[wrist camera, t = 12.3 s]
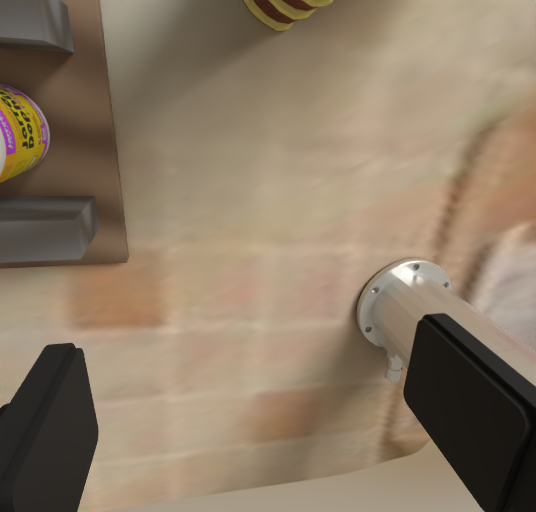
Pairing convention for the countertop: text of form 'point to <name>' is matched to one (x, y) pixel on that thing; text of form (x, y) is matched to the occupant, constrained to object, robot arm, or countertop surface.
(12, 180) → the stand
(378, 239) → the countertop surface
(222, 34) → the countertop surface
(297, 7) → the decorative book
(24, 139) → the supplement bottle
